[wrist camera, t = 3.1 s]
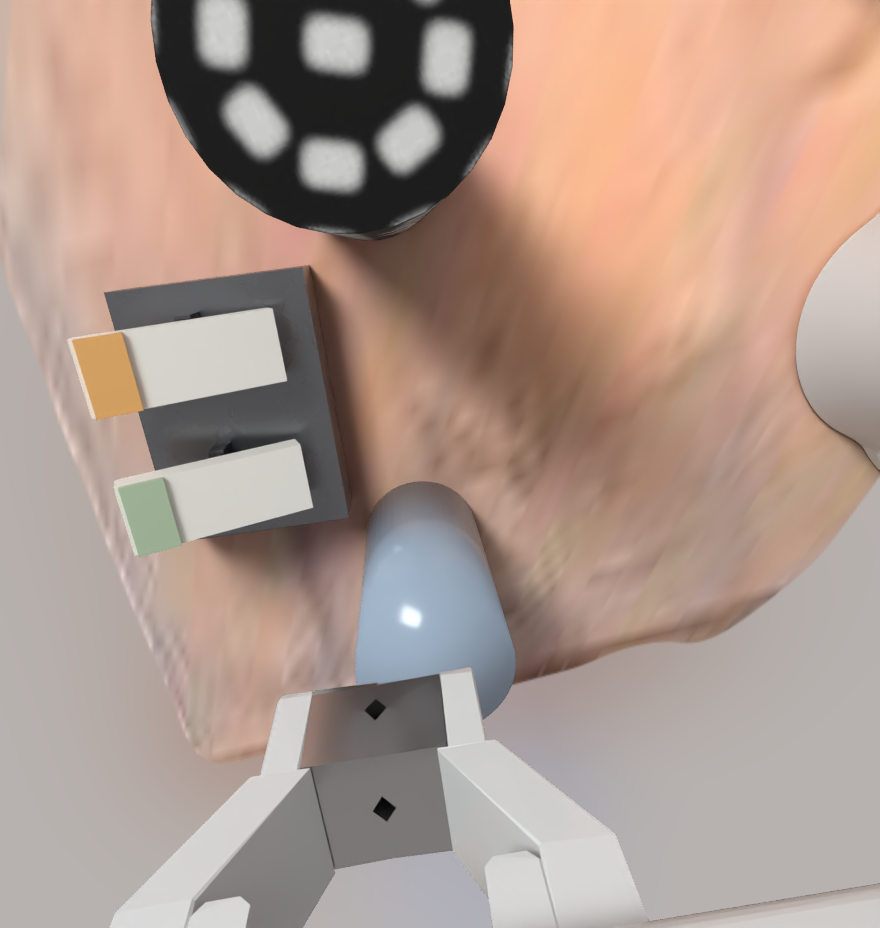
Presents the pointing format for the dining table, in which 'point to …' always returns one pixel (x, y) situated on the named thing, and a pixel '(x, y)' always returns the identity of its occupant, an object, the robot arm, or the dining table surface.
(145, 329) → the paddle
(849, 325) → the robot arm
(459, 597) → the blue cylinder
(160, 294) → the panel
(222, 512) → the paddle
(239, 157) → the white-spotted black cylinder
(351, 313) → the dining table surface
